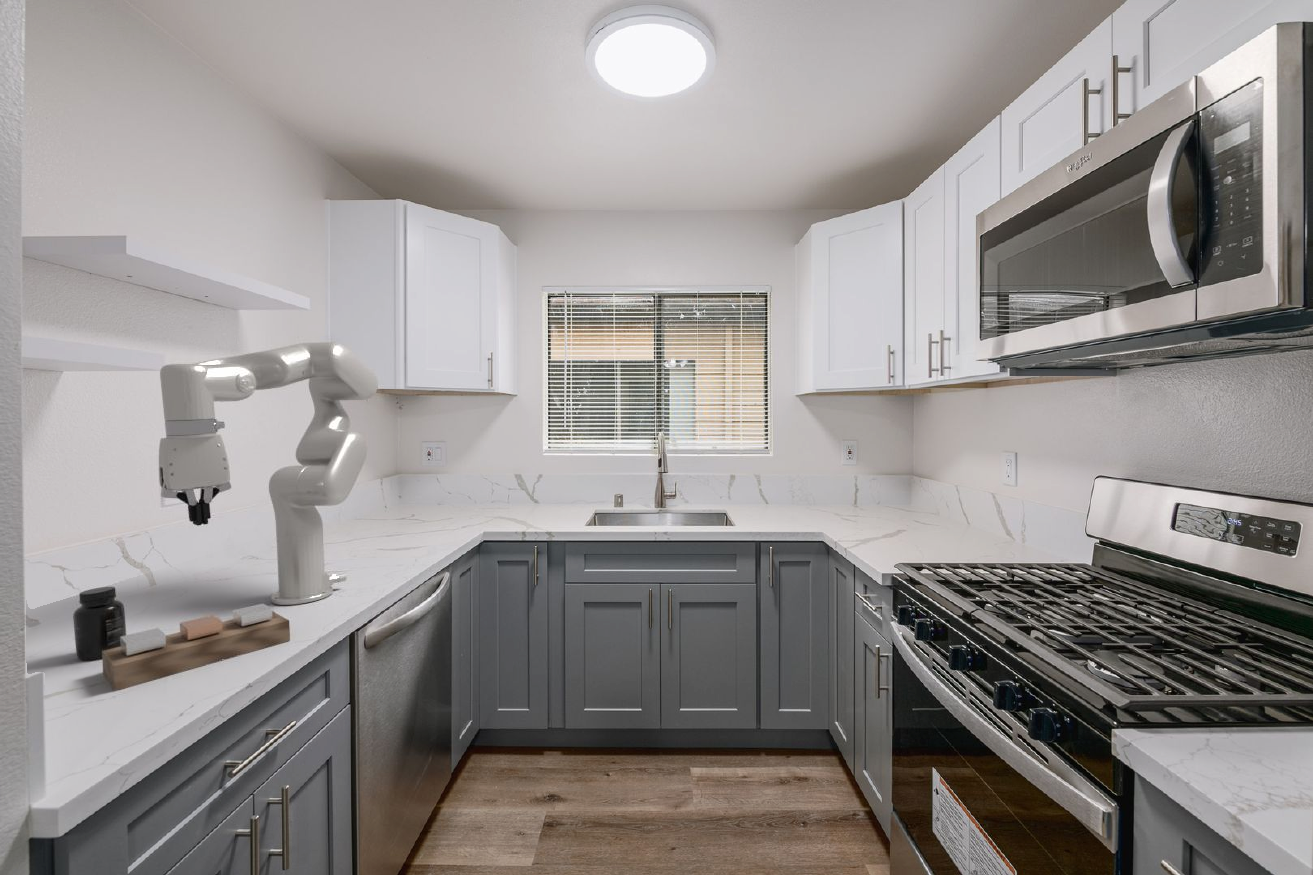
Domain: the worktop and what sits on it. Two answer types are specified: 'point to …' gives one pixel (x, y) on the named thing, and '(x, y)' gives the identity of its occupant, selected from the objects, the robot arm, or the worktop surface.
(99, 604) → the supplement bottle
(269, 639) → the button panel
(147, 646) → the button
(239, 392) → the robot arm
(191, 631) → the middle button
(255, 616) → the button
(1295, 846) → the worktop surface
